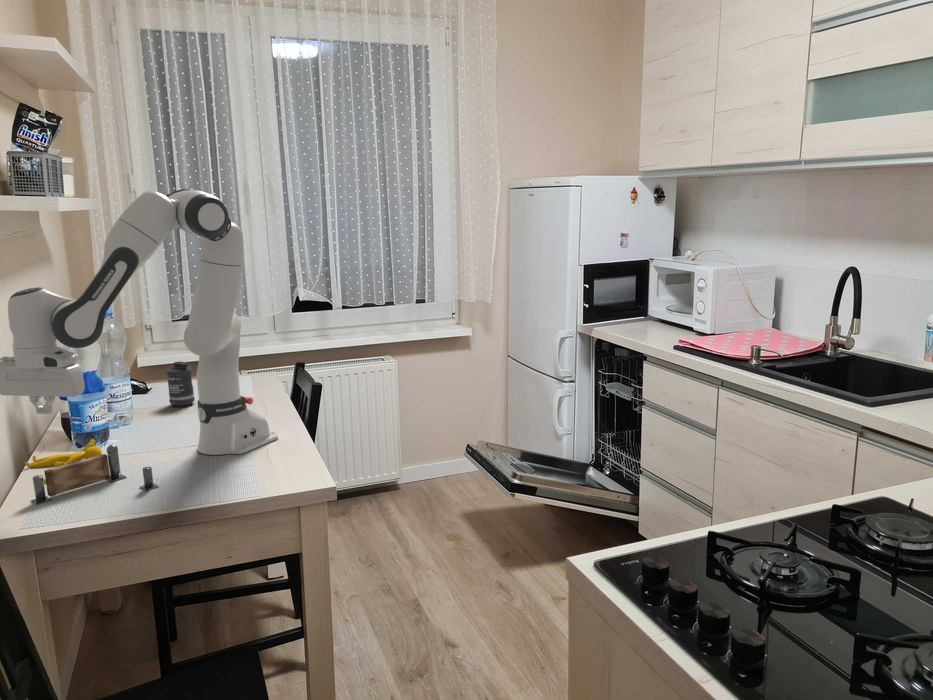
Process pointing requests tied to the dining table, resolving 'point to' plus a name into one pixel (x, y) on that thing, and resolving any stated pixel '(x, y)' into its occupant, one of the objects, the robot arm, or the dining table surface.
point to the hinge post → (114, 463)
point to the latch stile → (39, 490)
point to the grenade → (180, 384)
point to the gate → (77, 475)
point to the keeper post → (148, 479)
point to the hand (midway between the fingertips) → (44, 413)
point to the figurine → (67, 457)
